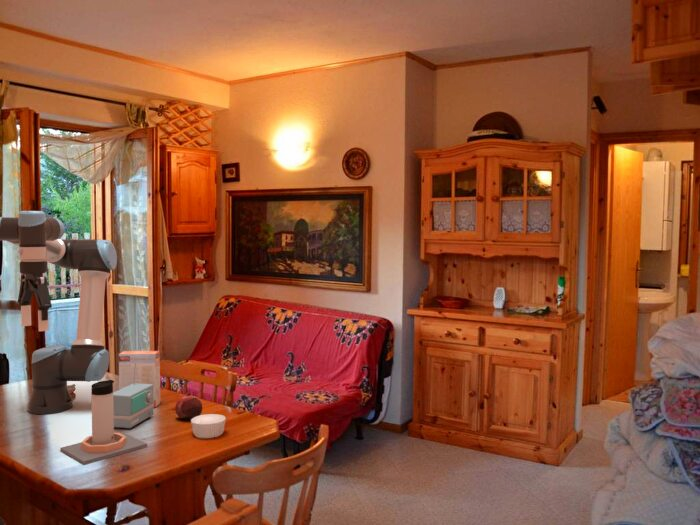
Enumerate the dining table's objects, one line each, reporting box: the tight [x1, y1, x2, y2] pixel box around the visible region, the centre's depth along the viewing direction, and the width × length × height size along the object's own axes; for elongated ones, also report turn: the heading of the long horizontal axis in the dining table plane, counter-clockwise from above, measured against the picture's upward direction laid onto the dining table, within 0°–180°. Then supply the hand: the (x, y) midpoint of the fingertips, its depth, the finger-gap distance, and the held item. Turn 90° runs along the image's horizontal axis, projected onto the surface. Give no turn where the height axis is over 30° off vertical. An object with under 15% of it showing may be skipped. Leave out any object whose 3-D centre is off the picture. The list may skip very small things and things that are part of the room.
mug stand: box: [59, 431, 148, 466], centre depth 192 cm, size 16×20×3 cm
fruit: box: [174, 390, 203, 420], centre depth 222 cm, size 9×10×10 cm
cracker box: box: [118, 350, 161, 408], centre depth 237 cm, size 14×6×21 cm, turn 89°
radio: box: [113, 362, 155, 429], centre depth 217 cm, size 16×9×20 cm, turn 169°
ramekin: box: [190, 413, 227, 439], centre depth 206 cm, size 11×11×5 cm
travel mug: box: [90, 379, 115, 445], centre depth 191 cm, size 6×7×20 cm
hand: (34, 328), depth 194 cm, fingers open, 13 cm apart
